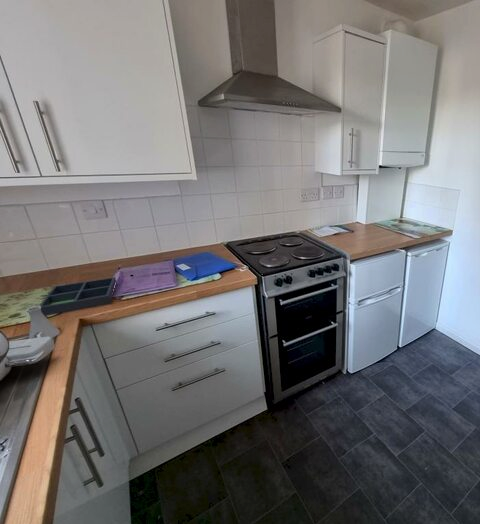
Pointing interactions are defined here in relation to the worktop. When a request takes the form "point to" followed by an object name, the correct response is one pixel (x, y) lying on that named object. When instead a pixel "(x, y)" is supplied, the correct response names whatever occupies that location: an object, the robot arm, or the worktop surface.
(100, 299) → the grid
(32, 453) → the worktop surface
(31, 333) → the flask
